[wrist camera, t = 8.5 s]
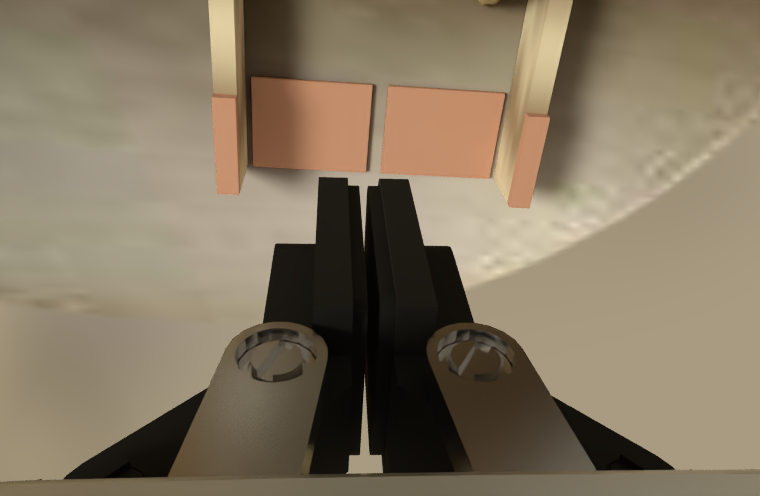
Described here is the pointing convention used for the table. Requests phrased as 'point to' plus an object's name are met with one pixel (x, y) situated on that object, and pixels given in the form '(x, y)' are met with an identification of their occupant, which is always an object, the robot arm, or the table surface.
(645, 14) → the table surface
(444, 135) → the pads
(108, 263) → the table surface
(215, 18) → the box
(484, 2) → the rock
